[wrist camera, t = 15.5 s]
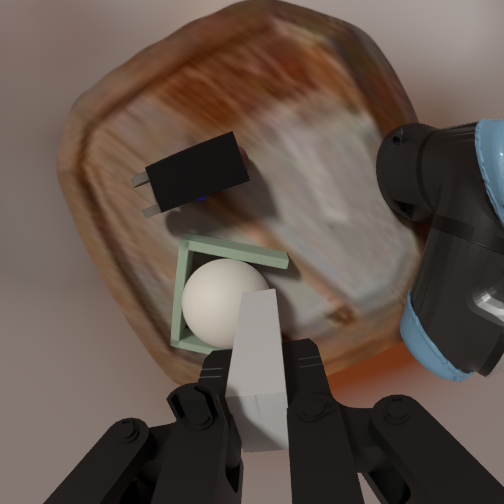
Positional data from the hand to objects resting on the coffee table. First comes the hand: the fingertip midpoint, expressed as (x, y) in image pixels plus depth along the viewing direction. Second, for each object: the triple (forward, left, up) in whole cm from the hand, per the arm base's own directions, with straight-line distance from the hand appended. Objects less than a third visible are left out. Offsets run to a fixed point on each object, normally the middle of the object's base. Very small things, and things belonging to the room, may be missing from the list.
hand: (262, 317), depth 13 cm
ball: (+6, +8, -21) cm, 23 cm away
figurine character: (+8, -8, -27) cm, 29 cm away
